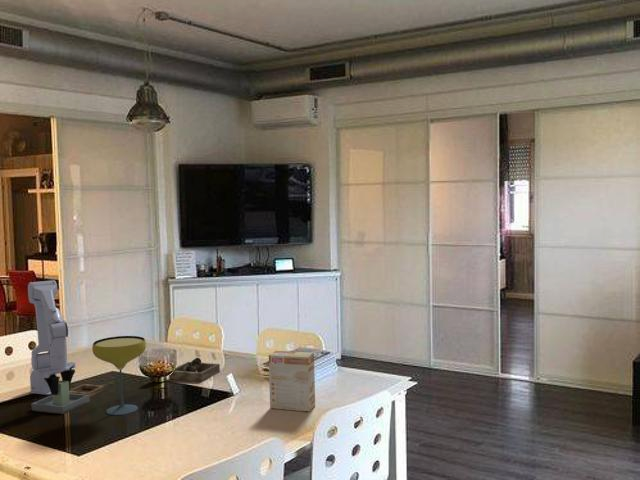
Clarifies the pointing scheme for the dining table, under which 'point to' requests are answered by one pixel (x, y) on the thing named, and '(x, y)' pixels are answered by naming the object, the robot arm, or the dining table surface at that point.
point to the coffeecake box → (292, 380)
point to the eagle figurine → (193, 365)
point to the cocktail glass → (119, 361)
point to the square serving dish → (206, 373)
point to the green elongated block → (62, 394)
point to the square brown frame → (87, 386)
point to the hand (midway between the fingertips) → (60, 392)
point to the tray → (48, 406)
